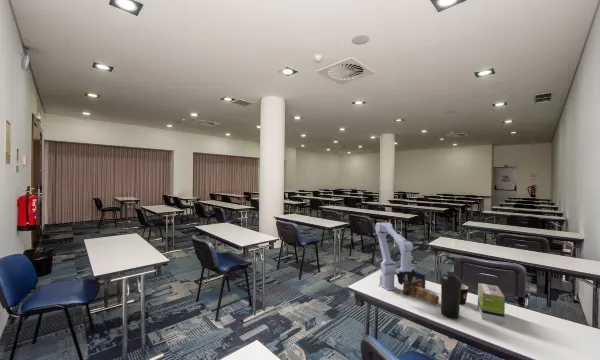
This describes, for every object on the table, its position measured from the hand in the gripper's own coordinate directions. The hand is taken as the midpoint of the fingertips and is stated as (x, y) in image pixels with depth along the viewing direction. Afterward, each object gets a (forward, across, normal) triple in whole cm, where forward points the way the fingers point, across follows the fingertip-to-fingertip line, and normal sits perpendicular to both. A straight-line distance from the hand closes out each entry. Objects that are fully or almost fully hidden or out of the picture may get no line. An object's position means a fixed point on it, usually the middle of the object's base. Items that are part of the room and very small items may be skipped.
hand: (405, 283), depth 162 cm
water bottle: (+10, +8, -24) cm, 27 cm away
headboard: (+10, +12, +2) cm, 16 cm away
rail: (+10, +12, -5) cm, 16 cm away
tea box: (+10, +29, -33) cm, 45 cm away
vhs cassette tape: (+10, +21, +13) cm, 26 cm away
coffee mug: (+10, +26, -16) cm, 32 cm away
